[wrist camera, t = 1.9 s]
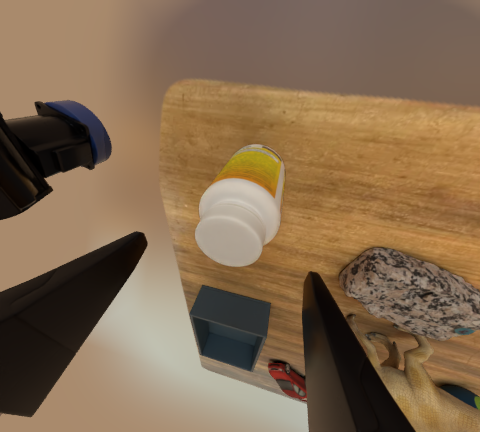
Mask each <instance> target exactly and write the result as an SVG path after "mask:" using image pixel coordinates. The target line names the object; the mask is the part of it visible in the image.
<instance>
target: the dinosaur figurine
mask: <svg viewBox="0 0 480 432" xmlns="http://www.w3.org/2000/svg"><path fill="white" fill-rule="evenodd" d="M355 316H356V315H351V316H348V317H347V318H346V321H347V322H348V324H349V326H350V327H351V329H352V330H353V331H354V332H355V333H356V334H357V336H358V337H359V338H360V340H361V341H362V343H363V344H364V345H365V346H366V347H367V351H368V358H369V359H370V361H371V363H372V365H373V366H374V368H375V370H376V371H377V373H378V375H379V376H380V378H381V379H382V381H383V383H384V384H385V386H386V388H387V389H388V391H389V392H390V394H391V395H392V397H393V398H394V400H395V401H396V403H397V404H398V406H399V407H400V409H401V410H402V412H403V413H404V415H405V416H406V418H407V419H408V420H409V422H410V423H411V425H412V426H413V428H414V429H415V431H416V432H480V410H478V409H476V408H474V407H472V406H470V405H468V404H466V403H464V402H463V401H461V400H459V399H457V398H456V397H454V396H452V395H451V394H449V393H448V392H446V391H444V390H443V389H441V388H439V387H437V386H435V385H434V383H433V381H432V379H431V378H430V376H429V374H428V373H427V371H426V370H425V368H424V367H423V365H422V363H424V362H425V361H426V360H427V359H428V358H429V356H430V355H431V354H433V352H434V351H433V347H432V346H431V345H430V344H429V342H428V341H427V339H426V338H425V337H423V336H420V335H417V334H413V333H411V332H409V331H407V330H405V329H403V328H402V327H400V326H399V325H397V324H396V323H395V324H396V325H397V326H395V325H393V326H394V327H395V328H396V329H398V330H400V331H405V332H408V333H410V334H411V335H413V336H414V337H415V339H416V340H417V342H418V344H419V346H418V347H417V348H415V349H411V350H408V351H405V352H404V358H405V364H404V365H405V368H404V371H403V370H399V369H398V367H399V363H400V361H401V355H400V354H399V352H398V349H397V345H396V343H395V342H394V341H393V344H392V343H391V342H390V340H389V339H388V338H387V337H385V336H383V335H380V334H377V333H371V334H372V335H371V334H365V335H366V336H367V337H366V336H364V334H363V333H361V332H360V330H359V329H358V327H357V325H356V323H355V321H354V317H355ZM369 340H370V341H373V342H379V343H382V344H383V345H384V346H385V347H386V348H387V350H388V351H389V358H388V359H387V360H385V361H384V362H383V363H381V364H380V363H379V359H378V356H377V353H376V348H375V346H374V345H373V344H372V343H371V342H370V341H369Z"/></svg>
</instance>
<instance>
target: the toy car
mask: <svg viewBox="0 0 480 432" xmlns="http://www.w3.org/2000/svg"><path fill="white" fill-rule="evenodd" d="M268 369H269V373H270V374H271V376H272V377H273V378H274V379H275V380H276V381H277V383H278V385H279V386H280V388H281V389H282V391H283V392H284V393H286V394H287V395H289V396H291V397H294V398H299V399H300V400H301V399H304V398H307V391H306V377H304V379H303V378H302V377H300V376H299V375H298V374H296V373H295V372H294V371H292V370H291V371H290V366H289V364H288V363H285V365H284V364H281V363H269V365H268ZM302 401H306V400H302ZM306 402H307V401H306Z"/></svg>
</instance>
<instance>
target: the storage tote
mask: <svg viewBox="0 0 480 432" xmlns="http://www.w3.org/2000/svg"><path fill="white" fill-rule="evenodd" d="M270 304H271V303H268V302H264V301H260V300H256V299H253V298H249V297H245V296H242V295H238V294H234V293H230V292H227V291H223V290H219V289H215V288H212V287H208V286H204V285H202V287H201V289H200V291H199V294H198V296H197V298H196V300H195V303H194V305H193V307H192V309H191V311H190V314H189V315H190V319H191V323H192V327H193V330H194V334H195V338H196V342H197V346H198V349H199V353H200V355H202V356H205V357H208V358H211V359H214V360H217V361H220V362H223V363H226V364H229V365H232V366H235V367H238V368H241V369H244V370H247V371H250V372H253V370H254V368H255V365H256V363H257V360H258V358H259V355H260V353H261V350H262V348H263V345H264V343H265V340H266V338H267V331H268V322H269V313H270Z"/></svg>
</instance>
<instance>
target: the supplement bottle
mask: <svg viewBox="0 0 480 432" xmlns="http://www.w3.org/2000/svg"><path fill="white" fill-rule="evenodd" d="M284 186H285V166H284V163H283V161H282V159H281V157H280V156H279V155H278V154H277V153H276V152H275V151H274V150H273V149H271V148H269V147H267V146H264V145H259V144H253V145H248V146H245V147H243V148H241V149H240V150H238V151H237V152H236V153H235V154H234V155H233V157H232V158H231V159H230V160H229V162H228V163H227V164H226V165H225V167H224V168H223V169H222V170H221V172H220V173H219V174H218V176H217V177H216V178H215V179H214V181H213V182H212V183H211V185H210V186H209V187H208V188H207V190H206V191H205V192H204V194H203V196H202V198H201V200H200V204H199V216H200V219H201V221H200V222H199V224H198V225H197V227H196V231H195V238H196V242H197V244H198V246H199V248H200V249H201V250H202V251H203V253H204V254H206V255H207V256H208V257H209V258H211V259H212V260H214V261H216V262H218V263H220V264H223V265H227V266H233V267H242V266H247V265H250V264H252V263H254V262H255V261H256V260H257V259H258V258H259V257H260V255H261V252H262V248H263V245H265V244H267V243H268V242H270V241H271V240H272V239H273V238H274V237H275V235H276V234H277V232H278V230H279V226H280V222H281V213H282V204H283V195H284Z"/></svg>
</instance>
